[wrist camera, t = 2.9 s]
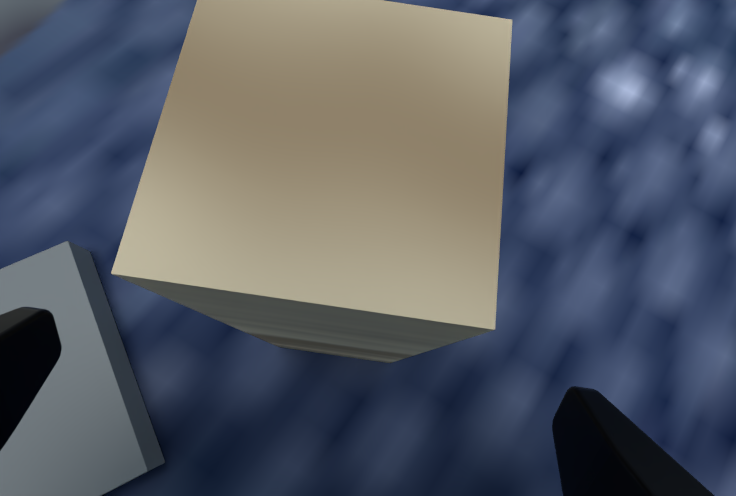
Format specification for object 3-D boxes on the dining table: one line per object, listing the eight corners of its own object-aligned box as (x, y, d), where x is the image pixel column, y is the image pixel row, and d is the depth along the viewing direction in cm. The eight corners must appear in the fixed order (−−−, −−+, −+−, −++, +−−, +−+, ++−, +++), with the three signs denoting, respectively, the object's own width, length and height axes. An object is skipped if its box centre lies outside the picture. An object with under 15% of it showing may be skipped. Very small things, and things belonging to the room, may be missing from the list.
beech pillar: (390, 362, 18) (495, 330, 5) (278, 346, 18) (111, 273, 5) (402, 255, 19) (511, 19, 6) (299, 240, 19) (205, -27, 6)
